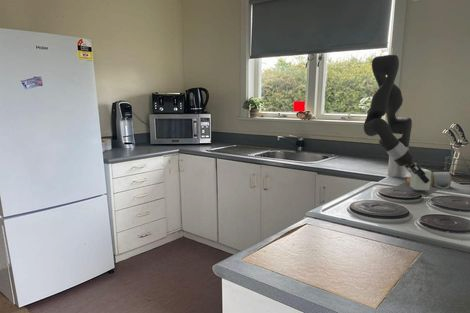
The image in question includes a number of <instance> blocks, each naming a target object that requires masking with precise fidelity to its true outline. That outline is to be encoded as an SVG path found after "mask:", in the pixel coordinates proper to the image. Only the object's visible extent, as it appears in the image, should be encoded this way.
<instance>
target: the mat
mask: <svg viewBox="0 0 470 313" xmlns="http://www.w3.org/2000/svg"><path fill="white" fill-rule="evenodd" d="M406 183H407V182H403V183H401V184H399V185H398V184H397V185H395V186H393V187H389V190H395V191H399V192H405V193H410V194H416V195H420V196H424V197H428V196H430V195H431V194H434V193H435V192H438V191H439V190H441V189H440V188H436V187H435V186H430V189H429V190H418V189H414V188H412V187H409V186H408V185H406Z"/></svg>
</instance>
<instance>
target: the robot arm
mask: <svg viewBox="0 0 470 313" xmlns="http://www.w3.org/2000/svg"><path fill="white" fill-rule="evenodd" d="M399 67H400V58H399V56H398V55H397V54H392V53H391V54H385V55H378V56H375V57H373V59H372V60H371V69H372V74H373V76H374V79H375V80H376V83H377V85H378V89H377V90H376V91H375V92H374V94H373V96H372V98H371V102H370V107H369V111H368V113H367V116H366V118H365V120H364V123H363V131H364V134H365V135H366V136H368V137H375V136H377V135H378V136H379V140H378V143H379V145H380V146H381V147H382V148H383V149H384V151H385V152H386V153H387V155H388V167H387V168H388V169H387V177H388V178H389V177H390V178H402V179H403V178H405V179H406V178H407V176H406V175H407V171H408V172H409V173H410V174H411V172H413V173H414V174H416V175H418V177H420V178H421V179H422V181H423V182H424V183H428V182H429V181H430V180H429V179H428V178H427V177H426V176H425V172H424V171H423V170H422V169H423V168H421V167H420V166H419V164H417V162H415V161H413V159H414V155H413V154H412V152H411V151H410V150H409V147H410V141H411V133H412V126H413V121H412V118H411V117H406V116H405V117H401V116H396V113H397V112H398V111H399V109H400V108H401V106H402V105H403V100H404V99H403V95H402V90H401V89H400V88H399V87H398V85H396V84H395V80H396V78H397V75H398V71H399ZM385 115H386V119H387V121H386V120H385V119H384V118H383V117H384V116H385ZM394 134H395V135H396V134H397V135H402V136H400V137H399V138H397V137H396V136H395V135H394ZM414 171H415V172H414ZM420 172H421V174H419V173H420Z"/></svg>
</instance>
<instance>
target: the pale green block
mask: <svg viewBox="0 0 470 313" xmlns="http://www.w3.org/2000/svg"><path fill="white" fill-rule="evenodd" d="M421 169H422V170H423V171H424V172H425V176H426V177H427V178H428V179H429V180H431V173H432V171H431V170H430V169H427V168H421ZM414 172H415V171H414ZM419 174H421V172H420V173H419ZM410 177H411V179H410V187H412V188H414V189H418V190H429V189H430V187H431V185H430V181H429V182H428V183H424V182H423V181H422V179H421V178H420V177H418V175H416V174H414V173H413V172H411V173H410Z"/></svg>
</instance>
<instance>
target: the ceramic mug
mask: <svg viewBox="0 0 470 313" xmlns="http://www.w3.org/2000/svg"><path fill="white" fill-rule="evenodd" d="M451 184H452V176H451V173H450V172H449V171H439V172H438V171H434V172H431V180H430V187H434V188H440V189H439V190H441V189H442V190H448V189H449V188H450V187H451Z"/></svg>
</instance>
